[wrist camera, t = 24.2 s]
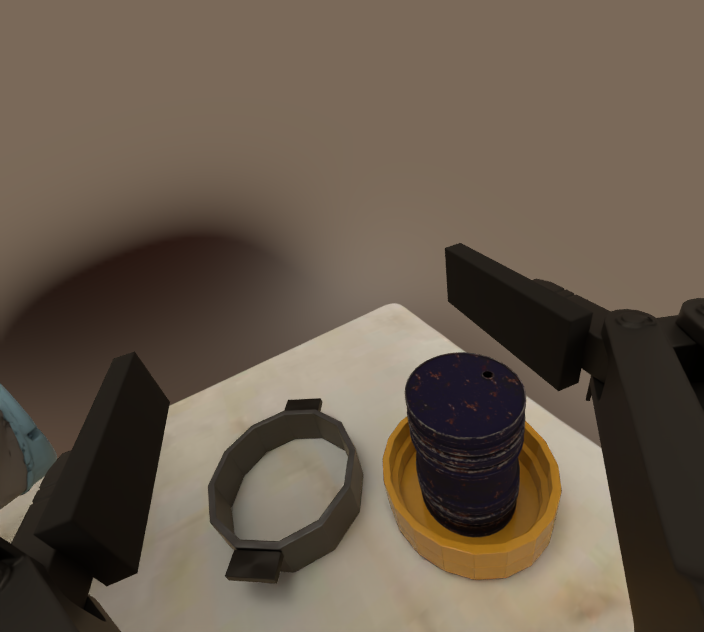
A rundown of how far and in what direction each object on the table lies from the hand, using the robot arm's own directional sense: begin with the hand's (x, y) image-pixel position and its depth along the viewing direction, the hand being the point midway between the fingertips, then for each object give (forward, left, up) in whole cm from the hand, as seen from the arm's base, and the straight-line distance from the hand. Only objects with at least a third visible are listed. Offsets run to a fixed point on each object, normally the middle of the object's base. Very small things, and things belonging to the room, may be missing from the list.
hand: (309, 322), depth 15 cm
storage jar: (+12, -1, -30) cm, 32 cm away
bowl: (+12, -1, -30) cm, 33 cm away
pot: (+2, +16, -30) cm, 34 cm away
